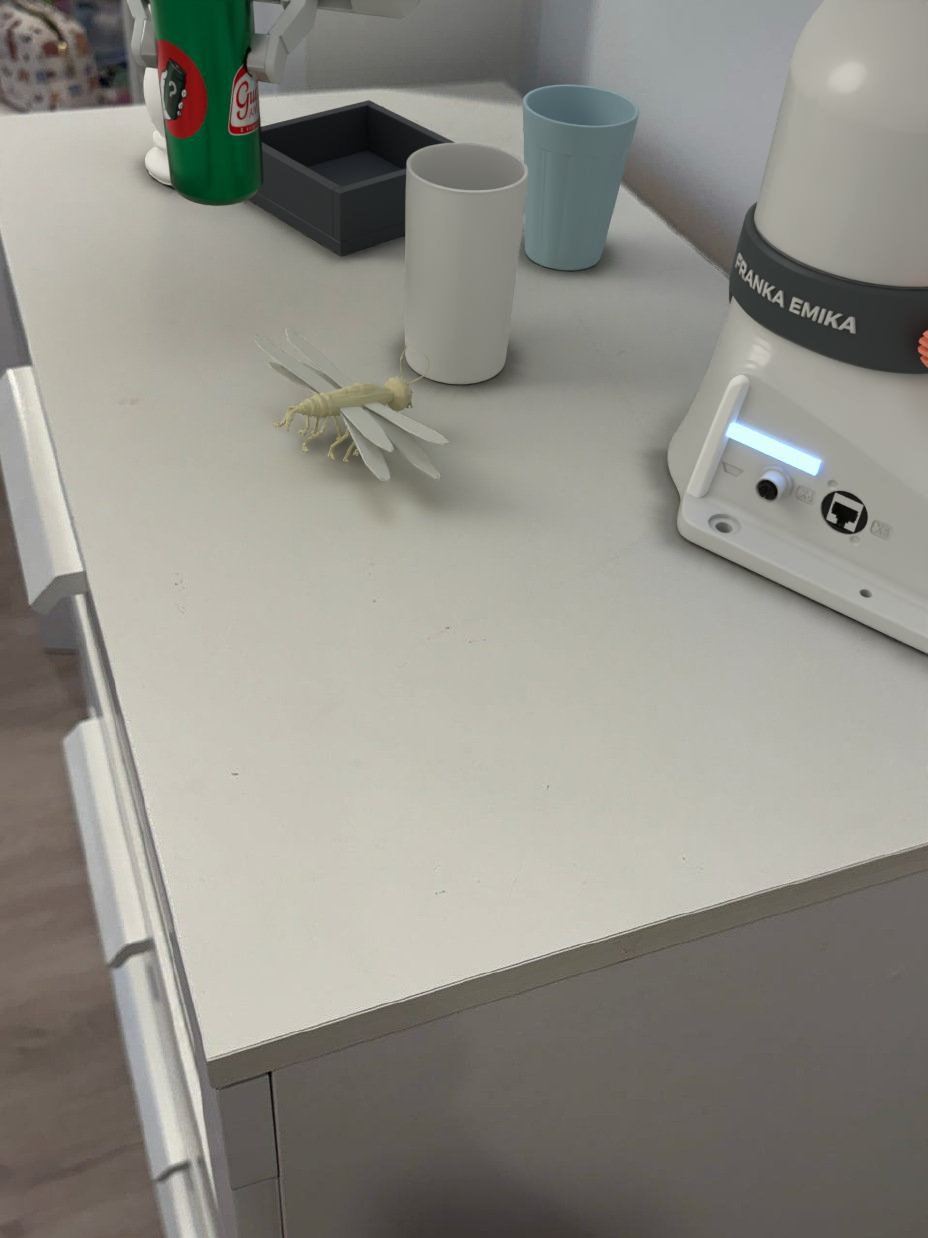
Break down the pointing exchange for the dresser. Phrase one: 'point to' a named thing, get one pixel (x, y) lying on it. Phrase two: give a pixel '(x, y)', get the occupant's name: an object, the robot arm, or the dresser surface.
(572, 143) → the cup
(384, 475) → the toy
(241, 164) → the soda can
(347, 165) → the bin
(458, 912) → the dresser surface
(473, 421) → the dresser surface
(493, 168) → the mug
